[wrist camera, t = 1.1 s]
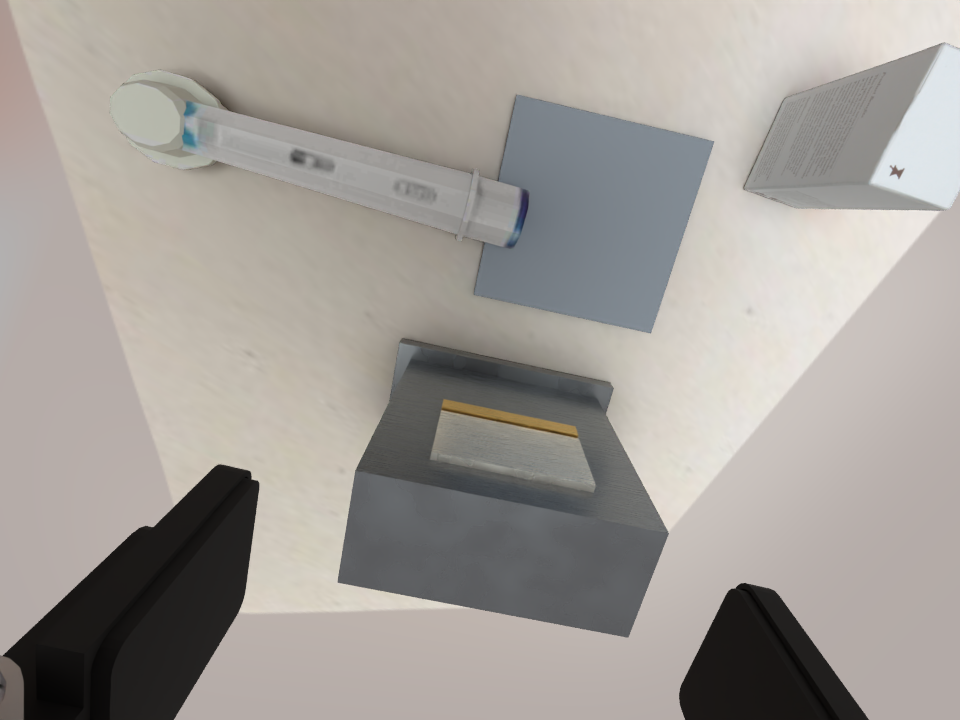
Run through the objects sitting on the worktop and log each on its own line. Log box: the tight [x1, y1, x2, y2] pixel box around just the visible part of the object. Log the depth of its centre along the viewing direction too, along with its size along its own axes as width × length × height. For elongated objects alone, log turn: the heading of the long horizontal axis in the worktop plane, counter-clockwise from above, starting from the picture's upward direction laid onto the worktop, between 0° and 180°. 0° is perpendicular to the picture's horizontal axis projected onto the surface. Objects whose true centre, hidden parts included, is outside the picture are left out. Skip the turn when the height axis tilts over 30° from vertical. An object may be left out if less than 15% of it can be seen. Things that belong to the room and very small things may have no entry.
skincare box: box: [744, 43, 960, 211], centre depth 28 cm, size 6×4×12 cm
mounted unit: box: [338, 338, 669, 637], centre depth 31 cm, size 8×16×17 cm, turn 78°
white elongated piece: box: [110, 70, 530, 250], centre depth 32 cm, size 5×7×25 cm
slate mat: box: [474, 95, 714, 333], centre depth 35 cm, size 13×13×1 cm
